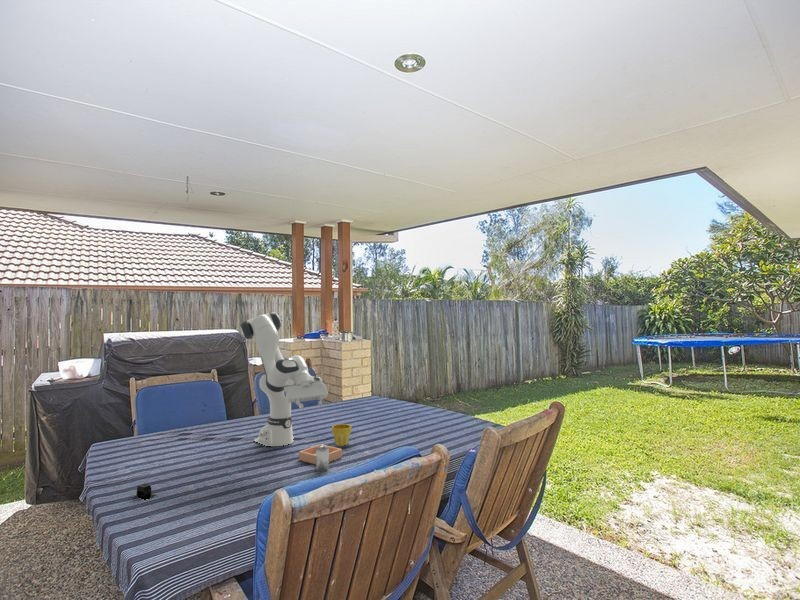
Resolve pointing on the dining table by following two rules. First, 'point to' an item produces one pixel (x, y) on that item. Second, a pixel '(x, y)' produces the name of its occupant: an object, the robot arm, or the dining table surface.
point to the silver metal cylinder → (322, 458)
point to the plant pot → (341, 434)
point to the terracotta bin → (310, 454)
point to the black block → (144, 491)
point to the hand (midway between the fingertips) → (311, 406)
